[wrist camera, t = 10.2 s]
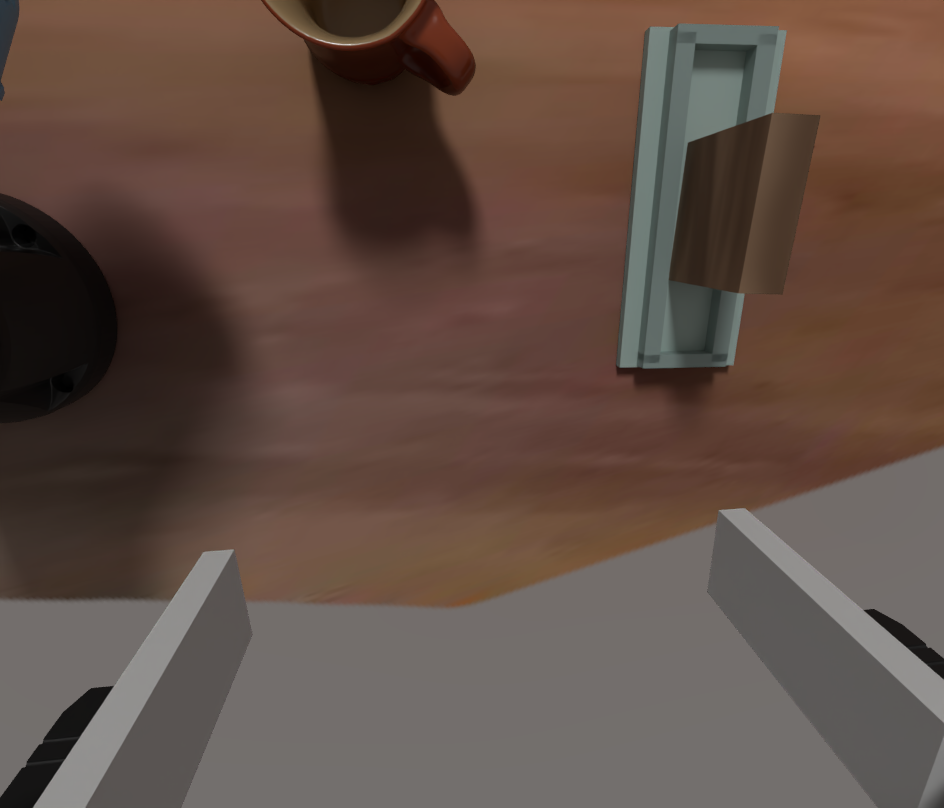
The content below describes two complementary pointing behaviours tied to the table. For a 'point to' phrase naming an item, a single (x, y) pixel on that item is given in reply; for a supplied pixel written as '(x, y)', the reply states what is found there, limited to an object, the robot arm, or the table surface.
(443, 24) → the mug
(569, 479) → the table surface
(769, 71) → the track base
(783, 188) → the slider block
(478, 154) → the table surface
